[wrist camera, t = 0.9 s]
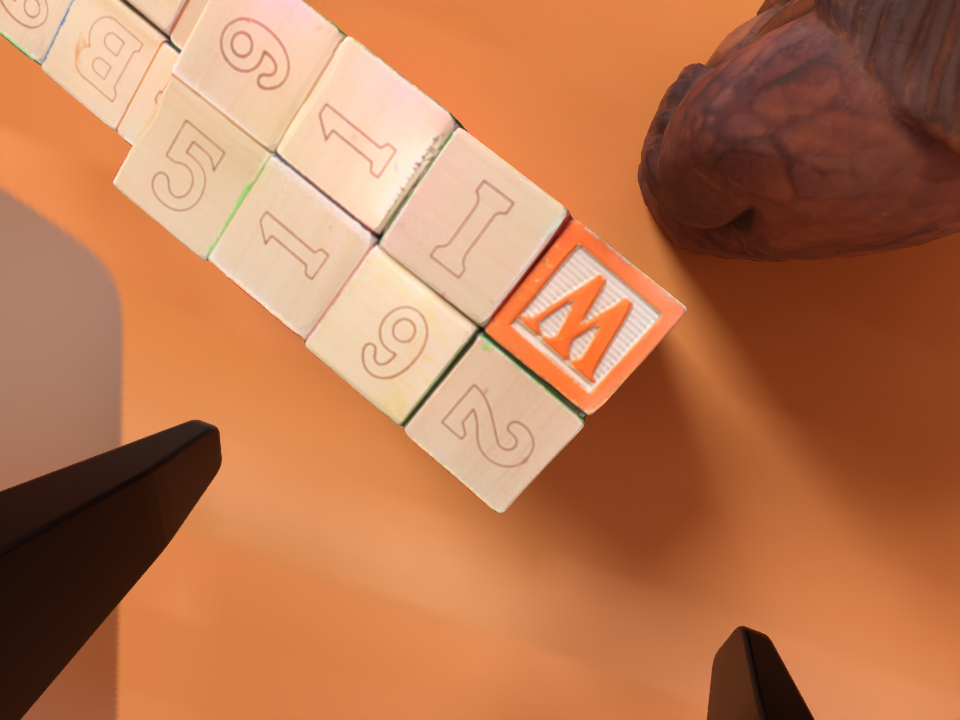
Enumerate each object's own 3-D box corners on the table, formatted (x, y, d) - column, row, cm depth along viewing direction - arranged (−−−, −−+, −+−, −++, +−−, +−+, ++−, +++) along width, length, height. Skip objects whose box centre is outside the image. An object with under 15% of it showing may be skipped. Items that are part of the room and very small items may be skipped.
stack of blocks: (177, 90, 26) (-174, -54, 14) (250, -38, 25) (-75, -321, 13) (545, 401, 25) (499, 526, 13) (646, 288, 24) (696, 313, 12)
